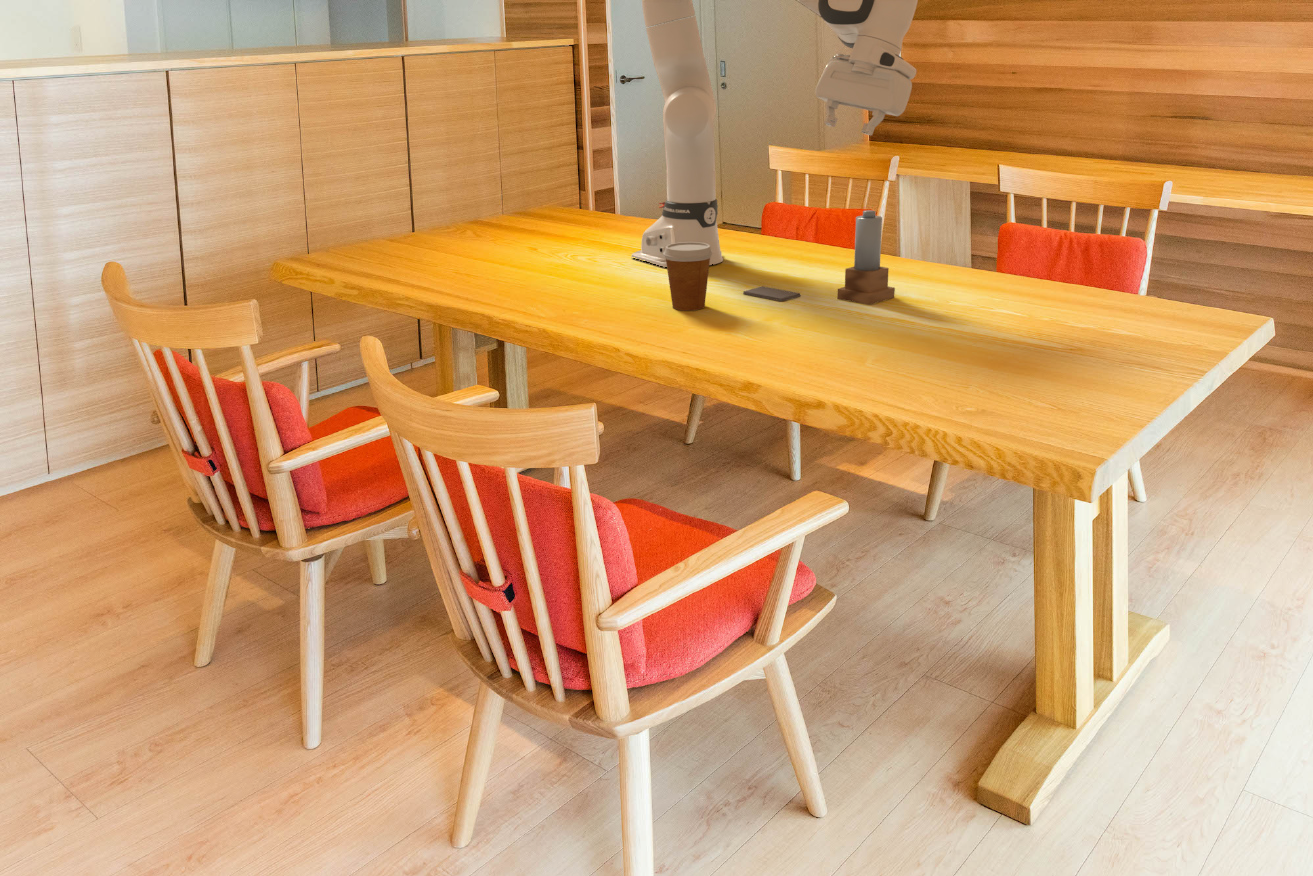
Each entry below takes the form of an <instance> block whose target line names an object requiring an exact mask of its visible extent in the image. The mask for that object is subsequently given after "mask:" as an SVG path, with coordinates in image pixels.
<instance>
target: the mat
mask: <svg viewBox="0 0 1313 876" xmlns="http://www.w3.org/2000/svg"><path fill="white" fill-rule="evenodd" d="M743 295H745V296H751V297H757V298H762V299H766V300H770V301H771V300H772V301H777V302H785V301H789V300H793V299H796V298H798V297H801V292H796V291H791V290H786V289H785V290H784V289H779V288H775V287H769V286H764V285H762V286H758V287H755V288H751V289H746V290H744V291H743Z"/></svg>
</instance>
